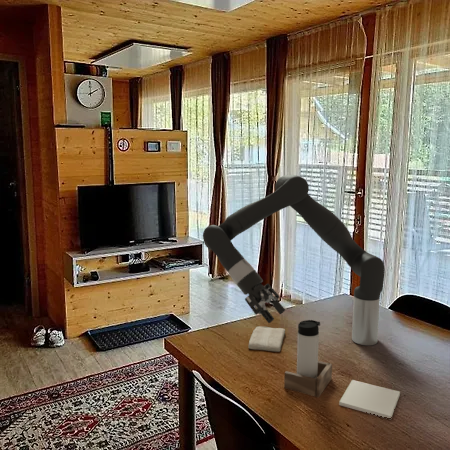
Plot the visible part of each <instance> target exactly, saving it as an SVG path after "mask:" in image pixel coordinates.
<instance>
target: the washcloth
mask: <svg viewBox="0 0 450 450" xmlns="http://www.w3.org/2000/svg"><path fill="white" fill-rule="evenodd" d="M285 332H286V329H285V328H281V327H278V328H277V327H270V326H269V327H268V326H259V325H258V326H256V327H255V328H254V329H253V330H252V334H250V339H249V342H248V349H250V350H256V351H257V350H260V351H267V352H278V353H279V352H281V349H282V344H283V340H284V338H285V334H286V333H285Z"/></svg>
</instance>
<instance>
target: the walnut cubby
mask: <svg viewBox="0 0 450 450" xmlns="http://www.w3.org/2000/svg"><path fill="white" fill-rule="evenodd" d="M332 372H333V364H332V363H331V362H324V361H321V360H318V373H317V379H315V378H311V377H307V376H303V375H300V374H297V372H291V371H288V370H285V372H284V379H283V380H284V381H283V382H284V383H283V384H284V385H283V386H284V389H285V390H291V391H294V392H296V393H297V392H298V393H301V394H304V395H308V396H312V397H316V398H320V397H321V395H322V394H323V392H324V390H326V388H327V386H328V384H329V383H330V382H331V380H332Z"/></svg>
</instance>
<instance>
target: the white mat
mask: <svg viewBox="0 0 450 450" xmlns="http://www.w3.org/2000/svg"><path fill="white" fill-rule="evenodd" d="M400 395H401V391H399V390H396V389H395V390H394V389H391V388H387V387H383V386H378V385H375V384H371V383H366V382H363V381H360V380H359V381H358V380H355V379H351V381H350V383H349V384H348V386H347V388H346V390H345V391H344V393H343V395H342V397H341V398H340V399H339V403H338V405H339V406H341V407H345V408H348V409H349V408H350V409H352V410H356V411H360V412H363V413H366V412H367V413H366V414H370V413H371V414H370V415H373V414H375V415H374V416H377V415H378V416H377V417H380V416H382V417H381V418H384V417H387V418H391V417H392V418H393V415H394V412H395V410H394V409H396V406H397V404H398V402H399V401H398V400H399V398H400ZM387 418H386V419H387ZM392 418H391V419H392Z"/></svg>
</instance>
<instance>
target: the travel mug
mask: <svg viewBox="0 0 450 450" xmlns="http://www.w3.org/2000/svg"><path fill="white" fill-rule="evenodd" d="M320 326H321V322H320V321H318V320H314V319H313V320H312V319H305V320H301V321H300V322H299V323H298V324H297V350H296V351H297V352H296V353H297V355H296V359H297V361H296V374H300V375H303V376H307V377H311V378H315V379H317V378H318V377H317V373H318V361H319V343H320V341H319V337H320V336H319V331H320V330H319V329H320V328H319V327H320Z"/></svg>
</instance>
